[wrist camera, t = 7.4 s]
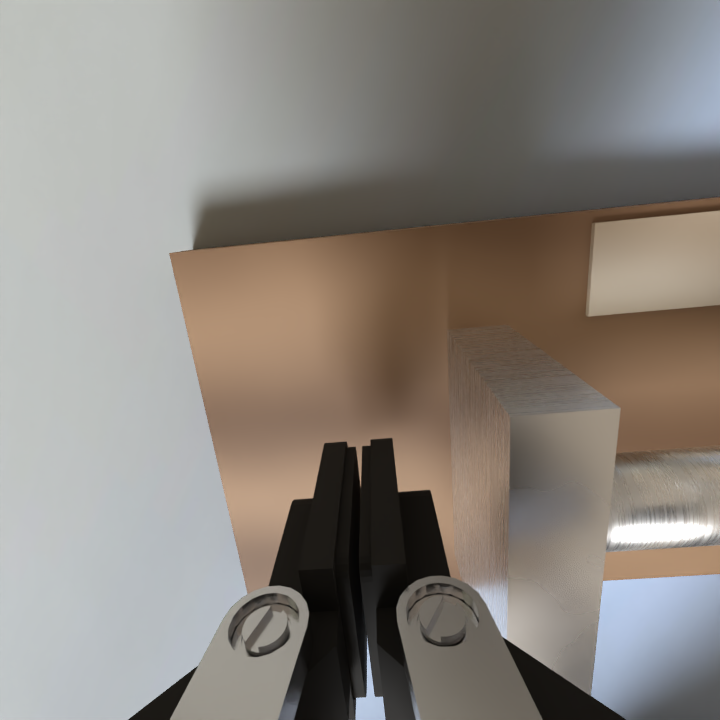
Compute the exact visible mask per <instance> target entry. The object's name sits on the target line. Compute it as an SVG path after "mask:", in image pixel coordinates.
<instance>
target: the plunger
mask: <svg viewBox="0 0 720 720" xmlns="http://www.w3.org/2000/svg"><path fill="white" fill-rule="evenodd" d="M447 344H448V374H449V404H450V434H451V463H452V493H453V523H454V552H455V557H456V560H457V564H458V568H459V572H460V576H461V580H462V582H465V583H467V584H468V585H470V586H471V587H472V588H473V589H474V590H476V591H477V592H478V593H479V594H480V596H481V597H482V599H483V600H484V602H485V603H486V605H487V607H488V609H489V611H490V613H491V615H492V617H493V619H494V621H495V623H496V625H497V627H498V629H499V631H500V633H501V635H502V637H504V638H505V639H507V640H508V641H510V642H511V643H513V644H514V645H516V646H517V647H519V648H520V649H521V650H523V651H524V652H526V653H527V654H529V655H530V656H532V657H533V658H535V659H536V660H538V661H539V662H541V663H542V664H544V665H545V666H547V667H548V668H550V669H551V670H553V671H554V672H556V673H557V674H559V675H560V676H562V677H563V678H565V679H566V680H568V681H569V682H571V683H572V684H574V685H575V686H577V687H578V688H580V689H581V690H583V691H584V692H586V693H587V694H589V695H590V696H591V689H592V679H593V670H594V660H595V650H596V641H597V631H598V622H599V612H600V602H601V593H602V583H603V573H604V564H605V554H606V552H617V551H633V550H650V549H666V548H682V547H698V546H715V545H720V445H718V446H704V447H690V448H676V449H663V450H649V451H635V452H621V453H616V448H617V439H618V429H619V419H620V410H621V408H620V407H618V406H617V405H616V404H614V403H613V402H612V401H610V400H609V399H608V398H606V397H605V396H603V395H602V394H601V393H599V392H598V391H597V390H595V389H594V388H593V387H591V386H590V385H588V384H587V383H586V382H584V381H583V380H582V379H580V378H579V377H578V376H576V375H575V374H574V373H572V372H571V371H569V370H568V369H567V368H565V367H564V366H563V365H561V364H560V363H559V362H557V361H556V360H555V359H553V358H552V357H550V356H549V355H548V354H546V353H545V352H544V351H542V350H541V349H540V348H538V347H537V346H535V345H534V344H533V343H531V342H530V341H529V340H527V339H526V338H525V337H523V336H522V335H521V334H519V333H518V332H516V331H515V330H514V329H512V328H511V327H510V326H508V325H497V326H486V327H474V328H463V329H452V330H447Z"/></svg>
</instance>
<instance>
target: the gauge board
mask: <svg viewBox="0 0 720 720" xmlns="http://www.w3.org/2000/svg"><path fill="white" fill-rule="evenodd" d="M169 254H170V259H171V263H172V267H173V272H174V276H175V280H176V285H177V289H178V293H179V298H180V302H181V306H182V311H183V315H184V319H185V324H186V328H187V332H188V337H189V341H190V345H191V350H192V354H193V358H194V363H195V367H196V371H197V376H198V380H199V384H200V389H201V393H202V397H203V402H204V406H205V410H206V415H207V419H208V423H209V428H210V432H211V436H212V441H213V445H214V450H215V454H216V458H217V463H218V467H219V471H220V476H221V480H222V484H223V489H224V493H225V497H226V502H227V506H228V510H229V515H230V519H231V523H232V528H233V532H234V536H235V541H236V545H237V549H238V554H239V558H240V562H241V567H242V571H243V575H244V580H245V584H246V588H247V593H248V594H249V593H251V592H253V591H254V590H258V589H261V588H264V587H267V586H269V582H270V578H271V575H272V571H273V568H274V564H275V560H276V557H277V553H278V550H279V546H280V542H281V539H282V535H283V531H284V528H285V524H286V521H287V517H288V513H289V510H290V506H291V503H292V501H293V500H294V499H308V498H313V496H314V491H315V486H316V481H317V476H318V471H319V466H320V461H321V456H322V451H323V447H324V443H333V442H345V441H347V444H348V447H356V451H357V460H358V468H359V477H360V486H361V468H362V446H370V440H371V439H383V438H392V439H393V448H394V457H395V466H396V476H397V485H398V492H405V491H419V490H430V491H431V494H432V498H433V502H434V507H435V511H436V515H437V520H438V524H439V528H440V533H441V537H442V541H443V545H444V550H445V554H446V558H447V563H448V567H449V571H450V576H451V577H452V578H456V579H458V580H460V581H462V580H461V576H460V572H459V568H458V564H457V560H456V557H455V552H454V523H453V493H452V463H451V434H450V404H449V374H448V344H447V330H452V329H463V328H474V327H486V326H497V325H508V326H510V327H511V328H512V329H514V330H515V331H516V332H518V333H519V334H521V335H522V336H523V337H525V338H526V339H527V340H529V341H530V342H531V343H533V344H534V345H535V346H537V347H538V348H540V349H541V350H542V351H544V352H545V353H546V354H548V355H549V356H550V357H552V358H553V359H555V360H556V361H557V362H559V363H560V364H561V365H563V366H564V367H565V368H567V369H568V370H569V371H571V372H572V373H574V374H575V375H576V376H578V377H579V378H580V379H582V380H583V381H584V382H586V383H587V384H588V385H590V386H591V387H593V388H594V389H595V390H597V391H598V392H599V393H601V394H602V395H603V396H605V397H606V398H608V399H609V400H610V401H612V402H613V403H614V404H616V405H617V406H618V407H620V408H621V410H620V419H619V429H618V439H617V448H616V453H621V452H635V451H649V450H663V449H676V448H690V447H704V446H718V445H720V197H711V198H701V199H691V200H682V201H672V202H662V203H652V204H642V205H632V206H622V207H612V208H602V209H592V210H582V211H572V212H562V213H553V214H543V215H533V216H523V217H513V218H503V219H493V220H483V221H473V222H463V223H453V224H443V225H433V226H424V227H414V228H404V229H394V230H384V231H374V232H364V233H354V234H344V235H334V236H324V237H314V238H304V239H295V240H285V241H275V242H265V243H255V244H245V245H235V246H225V247H215V248H205V249H195V250H188V251H181V252H174V253H169ZM709 574H720V545H715V546H698V547H682V548H666V549H650V550H633V551H617V552H606V554H605V564H604V573H603V581H606V580H623V579H641V578H658V577H675V576H692V575H709Z"/></svg>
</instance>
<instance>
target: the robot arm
mask: <svg viewBox="0 0 720 720" xmlns="http://www.w3.org/2000/svg"><path fill="white" fill-rule="evenodd" d="M367 638H368V646H369V654H370V662H371V670H372V678H373V686H374V694H375V697H380V696H383V700H384V709H385V717H386V720H626V719H624V718H623V717H621V716H620V715H618V714H617V713H615V712H614V711H612V710H611V709H609V708H608V707H606V706H605V705H603V704H602V703H600V702H599V701H597V700H596V699H594V698H593V697H592V696H590V695H589V694H587V693H586V692H584V691H583V690H581V689H580V688H578V687H577V686H575V685H574V684H572V683H571V682H569V681H568V680H566V679H565V678H563V677H562V676H560V675H559V674H557V673H556V672H554V671H553V670H551V669H550V668H548V667H547V666H545V665H544V664H542V663H541V662H539V661H538V660H536V659H535V658H533V657H532V656H530V655H529V654H527V653H526V652H524V651H523V650H521V649H520V648H519V647H517V646H516V645H514V644H513V643H511V642H510V641H508V640H507V639H505V638H504V637H502V635H501V633H500V631H499V629H498V627H497V625H496V623H495V621H494V619H493V617H492V615H491V613H490V611H489V609H488V607H487V605H486V603H485V602H484V600H483V599H482V597H481V596H480V594H479V593H478V592H477V591H476V590H474V589H473V588H472V587H471V586H470V585H468V584H467V583H465V582H462V581H460V580H458V579H456V578H452V577H451V576H450V571H449V567H448V563H447V558H446V554H445V550H444V545H443V541H442V537H441V533H440V528H439V524H438V520H437V515H436V511H435V507H434V502H433V498H432V494H431V491H430V490H419V491H405V492H398V485H397V476H396V466H395V457H394V448H393V439H392V438H383V439H371V440H370V446H362V468H361V486H360V477H359V468H358V460H357V451H356V447H348V444H347V441H345V442H333V443H324V447H323V451H322V456H321V461H320V466H319V471H318V476H317V481H316V486H315V491H314V496H313V498H308V499H294V500H293V501H292V503H291V506H290V510H289V513H288V517H287V521H286V524H285V528H284V531H283V535H282V539H281V542H280V546H279V550H278V553H277V557H276V560H275V564H274V568H273V571H272V575H271V578H270V582H269V586H267V587H264V588H261V589H258V590H254V591H253V592H251V593H249V594H247V595H246V596H244V597H242V598H241V599H240V600H239V601H238V602H237V603H235V604H234V605H233V606H232V607H231V608H230V610H229V611H228V613H227V614H226V615H225V617H224V618H223V620H222V622H221V624H220V626H219V627H218V629H217V631H216V633H215V635H214V637H213V639H212V641H211V643H210V644H209V646H208V648H207V650H206V652H205V654H204V656H203V658H202V660H201V662H200V663H199V665H198V666H197V667H196V668H194V669H193V670H192V671H191V672H189V673H188V674H187V675H185V676H184V677H183V678H182V679H180V680H179V681H178V682H176V683H175V684H174V685H172V686H171V687H170V688H169V689H167V690H166V691H165V692H163V693H162V694H161V695H160V696H158V697H157V698H156V699H154V700H153V701H152V702H151V703H149V704H148V705H147V706H145V707H144V708H143V709H141V710H140V711H139V712H138V713H136V714H135V715H134V716H132V717H131V718H130V719H129V720H355V712H356V698H359V697H366V692H367Z"/></svg>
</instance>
